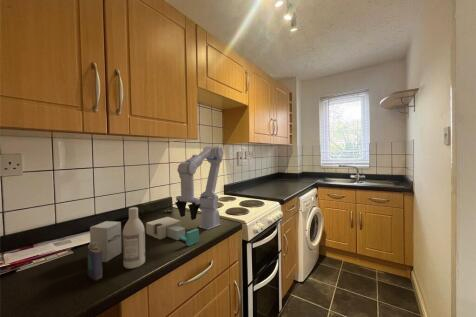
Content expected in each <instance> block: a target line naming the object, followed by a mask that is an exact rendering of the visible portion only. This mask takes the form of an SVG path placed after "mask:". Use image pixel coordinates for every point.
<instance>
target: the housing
mask: <svg viewBox="0 0 476 317" xmlns="http://www.w3.org/2000/svg"><path fill="white" fill-rule="evenodd" d="M158 223H160V224H161V226H158V227H157V234H155V224H158ZM145 224H146V225H145V229H146V231H145V235H148V236H151V237H153V238H155V239H158V240H162V239H165V238H167V236H166V227H168V226H171V225H177V226H180V227H182V220H181V219H177V218H173V217H170V216H165V217H161V218H158V219H155V220H152V221H151V220H150V221H148V222H146V223H145Z"/></svg>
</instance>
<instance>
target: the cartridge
mask: <svg viewBox="0 0 476 317" xmlns="http://www.w3.org/2000/svg"><path fill="white" fill-rule="evenodd" d="M199 229H200V228H194V229H191V230H188V231H186V228H185V227H182V226H181V227H180V226H177V225H171V226H168V227H166V237H168V238H171V239H173V240H176V241H179V240H181V241H184V242H185V245H186V246H187V247H191V246H192V245H195V244H198V242H199V243H200V230H199Z"/></svg>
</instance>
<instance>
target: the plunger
mask: <svg viewBox="0 0 476 317" xmlns="http://www.w3.org/2000/svg"><path fill="white" fill-rule="evenodd" d="M158 226H161V224H160V223H158V224H155V234H157V227H158Z"/></svg>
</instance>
